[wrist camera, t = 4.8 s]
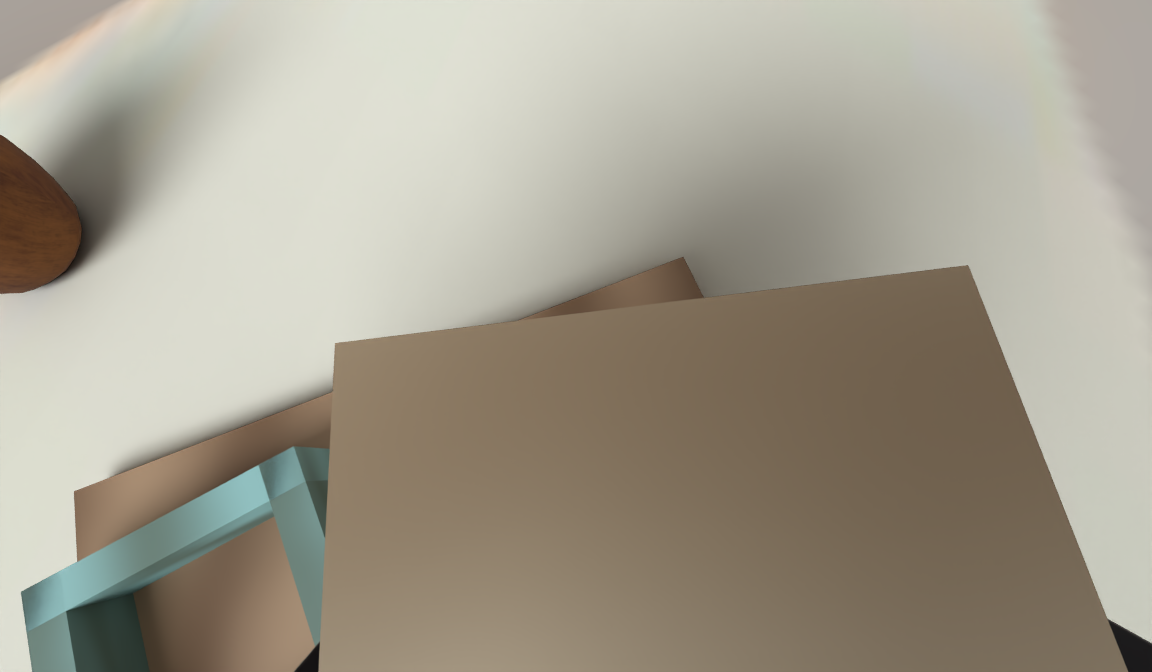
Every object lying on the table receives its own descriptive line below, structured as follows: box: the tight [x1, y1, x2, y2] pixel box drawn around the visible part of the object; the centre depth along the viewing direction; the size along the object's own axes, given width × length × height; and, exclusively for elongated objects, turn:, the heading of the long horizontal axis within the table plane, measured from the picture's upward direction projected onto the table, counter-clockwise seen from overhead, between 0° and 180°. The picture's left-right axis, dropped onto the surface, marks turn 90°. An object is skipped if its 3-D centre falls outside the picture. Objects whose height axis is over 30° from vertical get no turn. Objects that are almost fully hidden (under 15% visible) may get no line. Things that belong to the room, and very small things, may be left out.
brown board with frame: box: [21, 257, 704, 672], centre depth 15 cm, size 24×14×3 cm, turn 111°
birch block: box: [318, 265, 1128, 672], centre depth 8 cm, size 4×4×11 cm
